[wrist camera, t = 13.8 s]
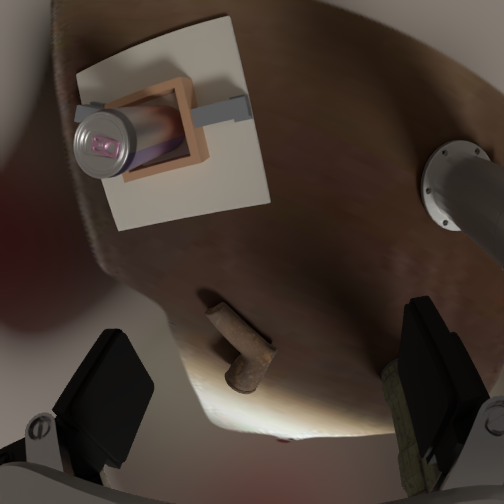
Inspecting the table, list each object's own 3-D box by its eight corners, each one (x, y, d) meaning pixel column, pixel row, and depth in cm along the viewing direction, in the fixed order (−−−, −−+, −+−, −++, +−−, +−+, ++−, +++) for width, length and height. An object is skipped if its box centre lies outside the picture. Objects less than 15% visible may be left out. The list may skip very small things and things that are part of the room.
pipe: (220, 309, 41) (171, 346, 43) (294, 376, 46) (246, 404, 48) (223, 288, 47) (179, 323, 49) (289, 352, 52) (246, 379, 54)
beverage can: (180, 157, 36) (122, 189, 23) (138, 144, 36) (67, 171, 23) (194, 112, 34) (138, 117, 20) (150, 100, 33) (78, 103, 20)
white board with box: (230, 17, 29) (222, 5, 24) (270, 200, 39) (268, 213, 34) (79, 74, 33) (58, 74, 28) (121, 229, 43) (105, 242, 38)
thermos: (414, 341, 46) (471, 530, 15) (429, 375, 50) (473, 533, 19) (370, 364, 49) (400, 554, 18) (390, 394, 53) (417, 553, 22)
